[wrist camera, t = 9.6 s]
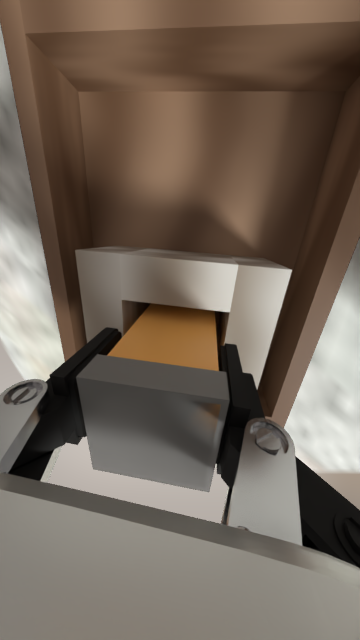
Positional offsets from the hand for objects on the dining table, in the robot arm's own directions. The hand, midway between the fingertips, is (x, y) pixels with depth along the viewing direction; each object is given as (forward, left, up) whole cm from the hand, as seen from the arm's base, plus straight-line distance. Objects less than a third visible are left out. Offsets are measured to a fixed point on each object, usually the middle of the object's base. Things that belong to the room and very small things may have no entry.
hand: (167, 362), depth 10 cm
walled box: (0, -4, -7) cm, 8 cm away
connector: (0, 0, -6) cm, 6 cm away
